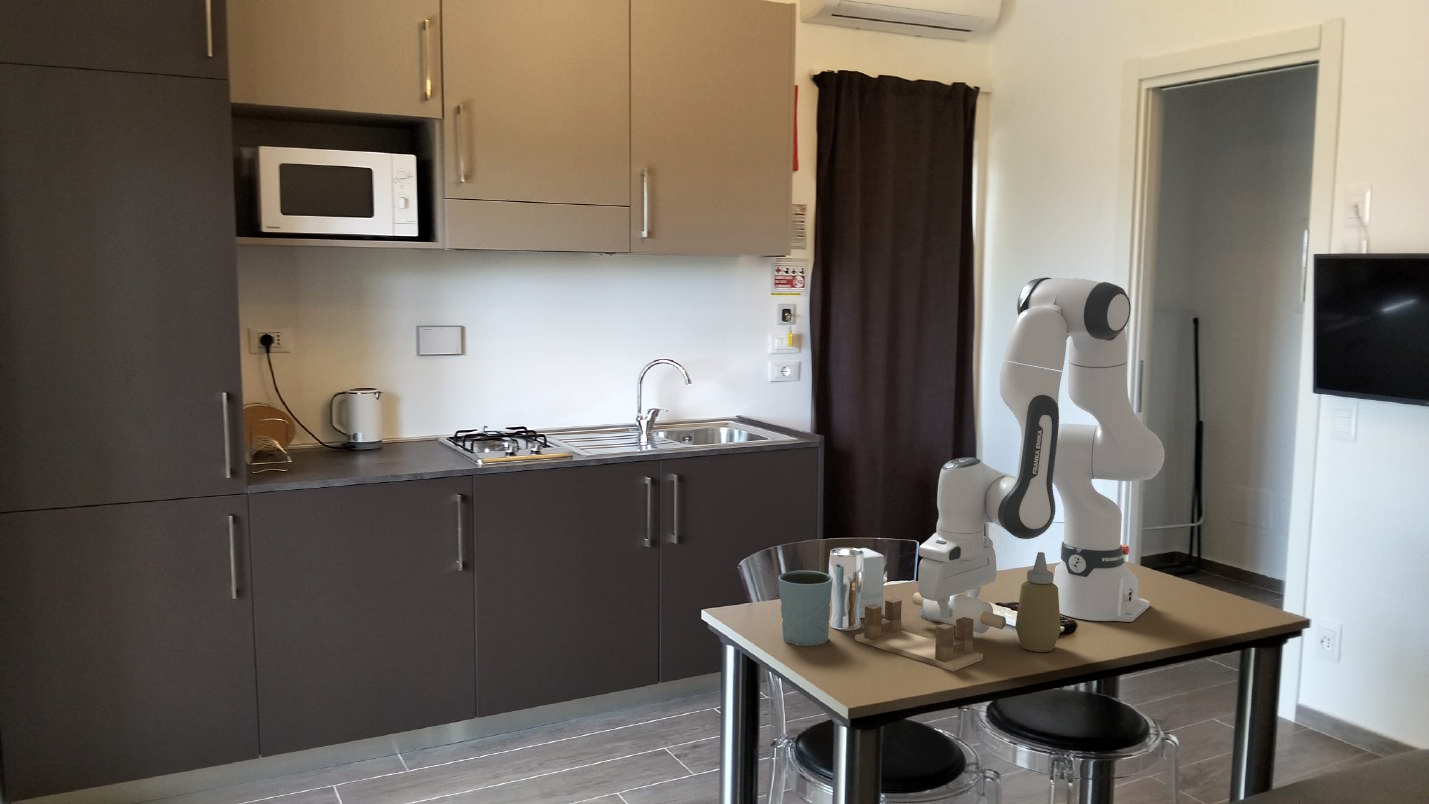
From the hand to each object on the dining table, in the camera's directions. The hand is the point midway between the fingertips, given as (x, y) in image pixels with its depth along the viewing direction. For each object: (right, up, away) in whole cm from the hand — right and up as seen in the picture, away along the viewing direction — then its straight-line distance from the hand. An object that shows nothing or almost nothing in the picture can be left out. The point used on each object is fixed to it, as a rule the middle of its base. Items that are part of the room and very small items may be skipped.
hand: (958, 613), depth 203 cm
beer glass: (-21, -4, +5) cm, 22 cm away
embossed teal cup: (-30, -5, -3) cm, 30 cm away
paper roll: (0, -2, 0) cm, 2 cm away
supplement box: (-17, -3, +14) cm, 23 cm away
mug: (-2, -3, +14) cm, 14 cm away
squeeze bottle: (+13, -5, -6) cm, 16 cm away
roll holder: (-10, -5, -8) cm, 14 cm away
